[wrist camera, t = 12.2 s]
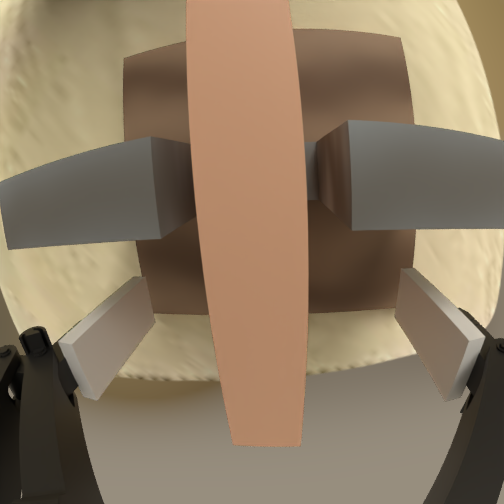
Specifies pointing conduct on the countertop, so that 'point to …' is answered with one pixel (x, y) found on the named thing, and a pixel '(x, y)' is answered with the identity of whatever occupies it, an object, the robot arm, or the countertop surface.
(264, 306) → the terracotta plate
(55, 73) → the countertop surface
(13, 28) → the countertop surface
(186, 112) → the slotted stand
